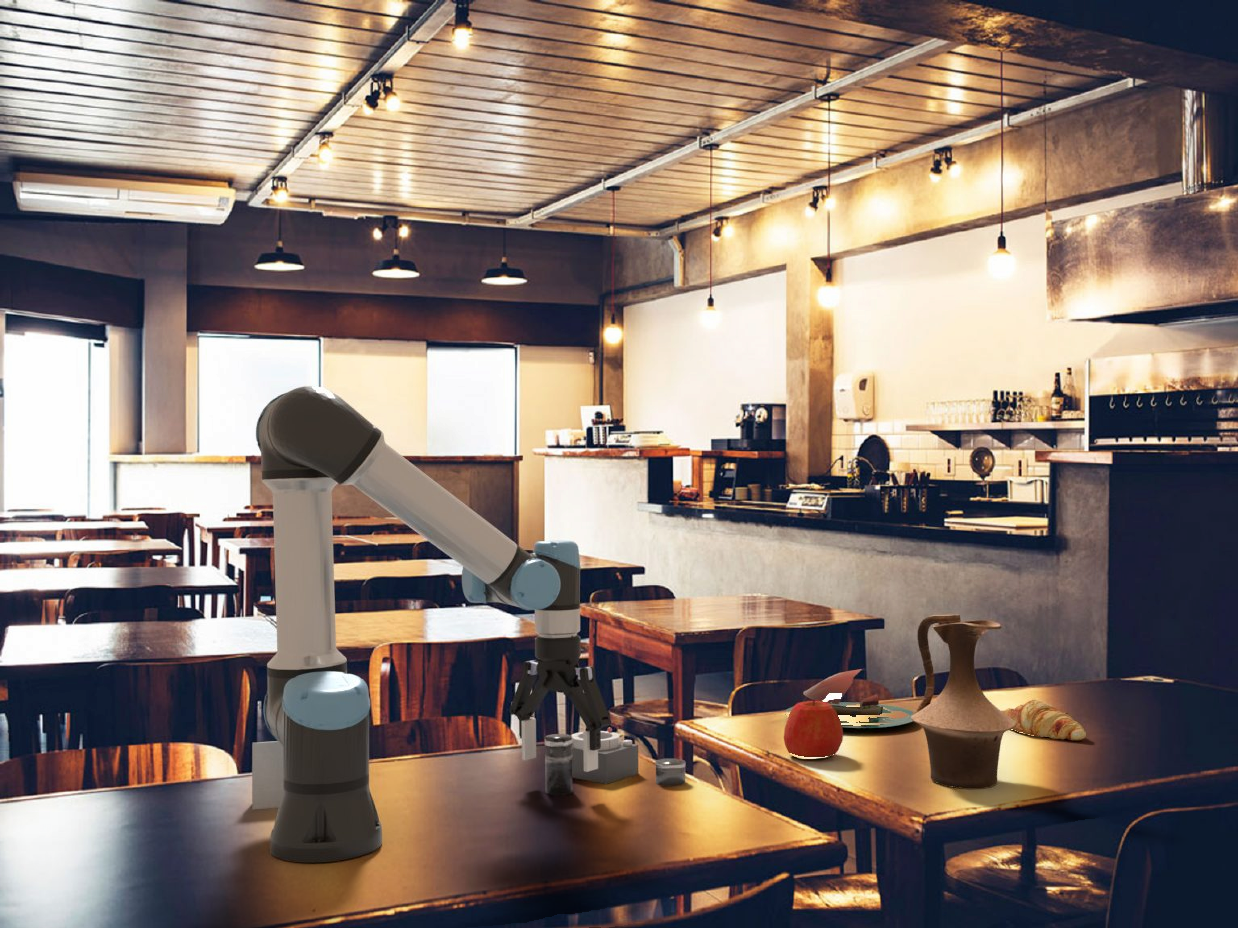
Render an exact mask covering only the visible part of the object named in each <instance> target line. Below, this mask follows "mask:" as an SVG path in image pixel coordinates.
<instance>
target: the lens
mask: <svg viewBox="0 0 1238 928" xmlns="http://www.w3.org/2000/svg"><path fill="white" fill-rule="evenodd" d="M571 735H572V734H567V733H554V734H548V735H546V736H544V747H545V751H544V752H545V753H544V754H545V755H544V763H545V765H544V766H545V768H544V769H545V793H546V794H547V795H551V796H565V795H569V794H571V793H573V778H572V762H573V761H572V744H573V739H572V736H571Z"/></svg>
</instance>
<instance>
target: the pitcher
mask: <svg viewBox="0 0 1238 928" xmlns="http://www.w3.org/2000/svg"><path fill="white" fill-rule="evenodd" d="M932 625H933V626H932ZM931 626H932V628H933V630H934V631H935V633H937V635H938V636H939V638H940V639H941V640H942V642H944V643H946V644H947V646H948V650H949V662H950V663H949V673H948V678H947V681H946V684H945V686H944V687H943V689H942V690H941V692H940V693H939V695H937V697H936V698H935V699H934V700H933V701H932V699H933V697H934V693H935V675H934V666H933V661H932V656H931V651H930V646H929V636H928V635H929V634H928V633H929V629H930V627H931ZM1000 629H1002V626H1001V624H1000V623H999V622H996V621H994V620H987V619H974V620H965V621H964V620H963V621H961V615H960V614H959V613H958V614H957V613H956V614H933V615H930V616H927V617H924V619H922V620H921V621H920V623H919V625H918V629H917V645H918V649H919V652H920V656H921V659H922V665H923V670H924V674H925V684H926V685H925V686H926V687H925V692H924V696H923V698H922V700H921V702H920V703H919V705H918V707H917V708H916V709H915V711H913V712H914V714H913V715H912V716H911V720H913V721H912V722H914V723H916V724H917V725H920V727H922V729H923V731H924V734H925V735H924V736H925V737H926V742H927V743H926V744H927V750H928V756H929V766H930V779H931V780H932V782H935V783H936V782H938V783H937V784H939V783H940V784H939V785H942V784H943V786H945V785H947V786H946V787H950V786H953V787H952V788H956V787H957V789H965V790H966V789H968V790H977V789H978V790H980V789H988V788H992V787H994V786H996V785H997V784H998V772H999V771H998V769H999V760H1000V751H1001V745H1002V739H1003V736H1004V733H1006V732H1008V731H1012V730H1011V729H1013V728H1015V727H1016V722H1015V721H1014V720H1013V719H1011V718H1010V717H1008V716H1007V715H1006V714H1004V713H1003V712H1002V711H1003V710H1001V709H999V708H998V707H996V705H995V704H993V703H992V702H991V701H990V699H988V698H987V697H986V695H985V694H984V692H983V690H982V688H981V686H980V685H979V681H978V679H977V676H976V670H975V654H976V652H975V651H976V647H977V643H978V641H979V639H980V638H981V636H983V635H985V633H987V632H988V631H990V630H991V631H992V630H1000Z"/></svg>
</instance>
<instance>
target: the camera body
mask: <svg viewBox="0 0 1238 928" xmlns="http://www.w3.org/2000/svg"><path fill="white" fill-rule="evenodd" d="M570 735H571V736H572V739H573V744H572V761H573V762H572V779H577V780H582V781H588V782H593V783H599V784H603V785H607V784H611V783H614V782H617V781H619V780H622V779H626V778H629V777H633V776H635V775H639V774H640V773H639V744H635V743H633V740H631V739H624V740H622V741H621V734H619V733H617V732H613V728H612V727H608V728H607V729H606V731H605V730H601V747H600V749H598V769H595V770H592V771H588V772H586V771H584V751H583V731H579V732H575V733H573V734H570Z"/></svg>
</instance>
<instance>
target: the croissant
mask: <svg viewBox="0 0 1238 928" xmlns="http://www.w3.org/2000/svg"><path fill="white" fill-rule="evenodd" d="M1001 711H1002V712H1003V713H1004V714H1006V715H1007V716H1008V717H1010V718H1011V719H1013V720H1014V721H1015V722H1016V727H1015V728H1013V730H1016V731H1018V732H1023V733H1026V734H1030V735H1034V736H1042V737H1049V738H1048V739H1053V740H1065V739H1066V740H1069V741H1081V740H1083V739H1085V738H1086V735H1087V733H1086V731H1085V729H1084V727H1083V726H1082V725H1081V723H1079V722H1078V721H1076V720H1075V719H1074V718H1073V717H1072V716H1071V715H1070V713H1069V712H1067V711H1061V710H1058V709H1057V708H1056V707H1054V706H1053V705H1051V704H1050V703H1048V702H1045V701H1042V700H1036V699H1032V700H1028V701H1026V702H1025V703H1023V704H1019V705H1018V706H1016V707H1015V708H1007V709H1005V710H1001ZM1013 730H1012V731H1013Z"/></svg>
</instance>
